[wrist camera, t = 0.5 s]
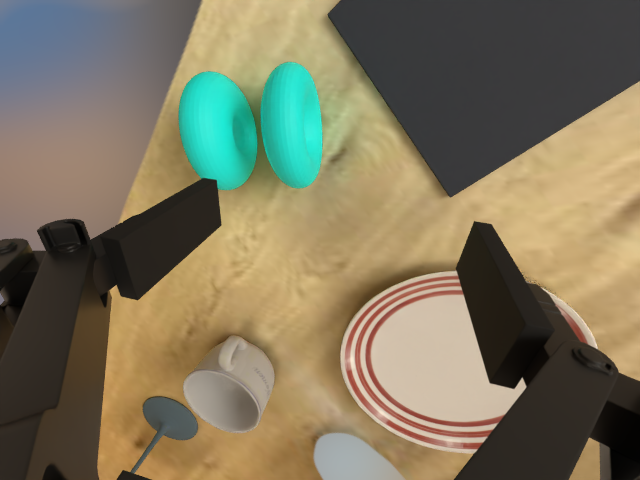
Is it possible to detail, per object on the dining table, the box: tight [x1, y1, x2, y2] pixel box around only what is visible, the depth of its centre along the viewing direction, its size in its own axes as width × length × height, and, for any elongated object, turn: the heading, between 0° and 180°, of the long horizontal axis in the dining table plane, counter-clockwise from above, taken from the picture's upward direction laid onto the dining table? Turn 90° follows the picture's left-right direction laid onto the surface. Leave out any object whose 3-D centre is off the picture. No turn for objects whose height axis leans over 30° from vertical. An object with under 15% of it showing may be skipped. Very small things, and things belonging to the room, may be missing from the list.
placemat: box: [328, 0, 640, 197], centre depth 24 cm, size 20×20×1 cm
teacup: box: [183, 335, 275, 433], centre depth 40 cm, size 14×11×8 cm
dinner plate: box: [340, 271, 598, 453], centre depth 36 cm, size 27×27×3 cm
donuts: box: [179, 62, 322, 190], centre depth 26 cm, size 10×10×10 cm
